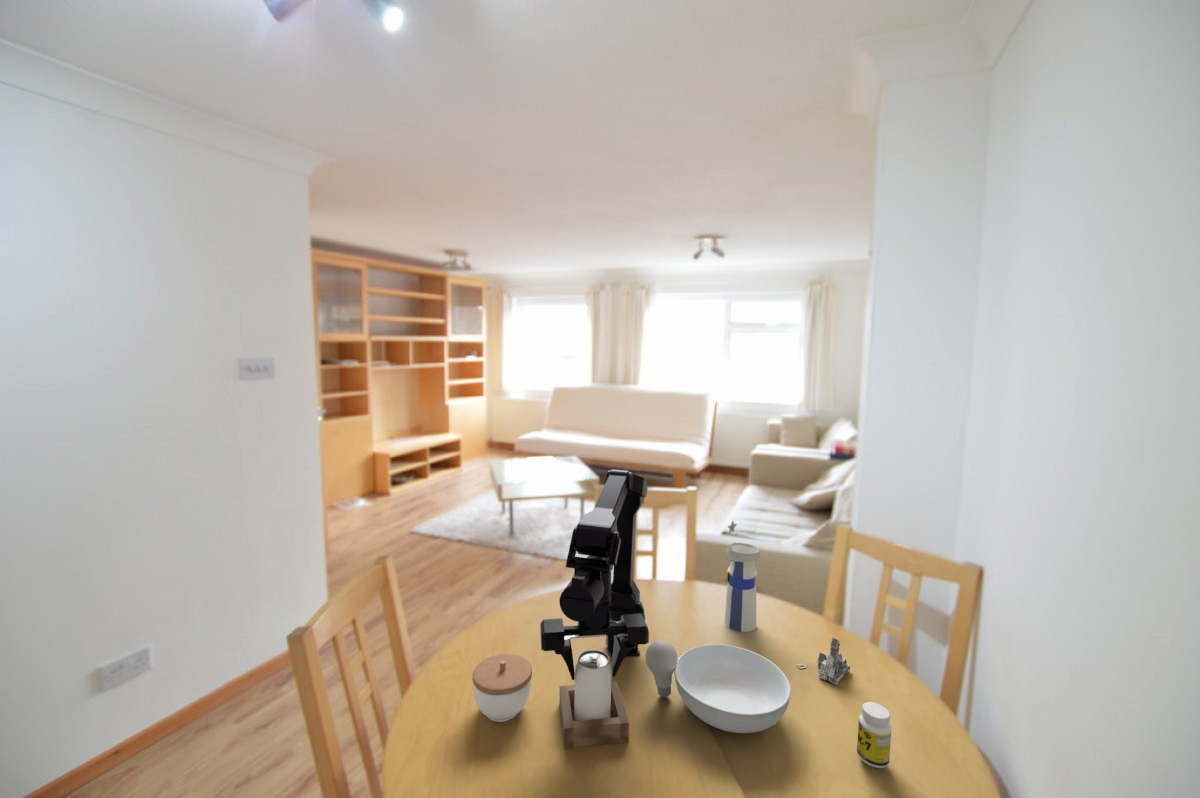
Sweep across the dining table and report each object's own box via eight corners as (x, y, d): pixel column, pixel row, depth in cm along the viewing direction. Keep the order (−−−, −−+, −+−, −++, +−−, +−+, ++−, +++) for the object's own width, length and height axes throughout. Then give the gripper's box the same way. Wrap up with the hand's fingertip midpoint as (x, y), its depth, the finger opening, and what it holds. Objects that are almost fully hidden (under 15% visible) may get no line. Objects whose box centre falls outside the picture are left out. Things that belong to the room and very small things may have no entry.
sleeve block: (616, 698, 97) (617, 681, 97) (628, 742, 86) (629, 722, 86) (559, 703, 95) (559, 686, 95) (564, 748, 84) (564, 728, 84)
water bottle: (716, 625, 124) (720, 526, 122) (729, 611, 131) (733, 517, 129) (750, 636, 119) (754, 533, 117) (761, 621, 126) (765, 524, 124)
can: (610, 712, 93) (612, 649, 93) (608, 737, 87) (610, 671, 86) (576, 709, 94) (577, 647, 93) (571, 734, 88) (573, 668, 87)
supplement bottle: (850, 747, 86) (853, 700, 85) (877, 745, 86) (880, 699, 86) (867, 770, 81) (871, 720, 80) (895, 768, 82) (899, 719, 81)
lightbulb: (683, 687, 100) (678, 635, 98) (677, 709, 94) (672, 653, 93) (653, 684, 102) (648, 632, 101) (645, 704, 96) (640, 650, 95)
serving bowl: (789, 768, 81) (791, 727, 81) (662, 732, 89) (663, 695, 88) (788, 689, 101) (790, 656, 100) (684, 665, 108) (685, 634, 107)
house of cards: (813, 650, 115) (815, 618, 114) (853, 667, 109) (855, 633, 108) (795, 666, 109) (797, 632, 108) (836, 686, 103) (839, 650, 102)
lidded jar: (532, 728, 89) (533, 677, 88) (470, 734, 87) (469, 683, 86) (531, 688, 99) (531, 643, 99) (475, 693, 98) (474, 647, 97)
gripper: (636, 570, 98) (634, 647, 99) (539, 575, 95) (538, 654, 97) (650, 598, 87) (648, 683, 88) (541, 604, 84) (541, 692, 86)
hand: (593, 676), depth 90 cm, fingers open, 7 cm apart
